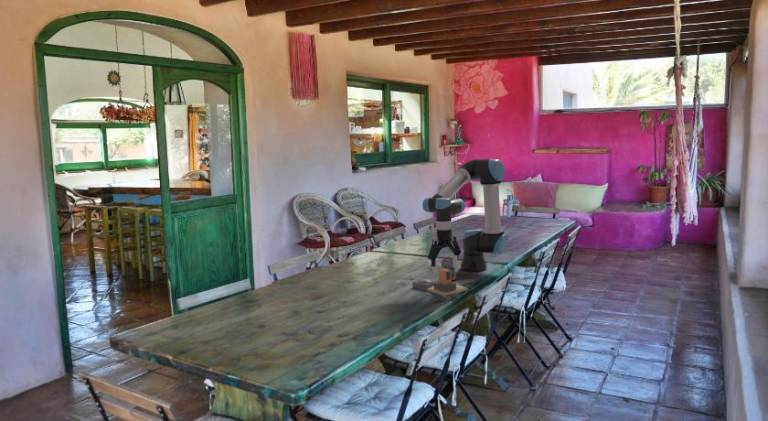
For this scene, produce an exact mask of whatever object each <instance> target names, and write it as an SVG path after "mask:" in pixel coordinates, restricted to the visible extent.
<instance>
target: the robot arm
mask: <svg viewBox="0 0 768 421" xmlns="http://www.w3.org/2000/svg"><path fill="white" fill-rule="evenodd" d="M505 175H506V169H505V165H504V163H503V162H502V161H501V160H500V159H498V158H497V159H495V158H474V159H470V160H469V161H466V162H465V163H463V164H462V165H460V166H459V167H458V168H457V169H456V171H455V173H454V175H453V176H452V177H451V178H449V180H448V181H447V182H446V183H445V184H444V185H443V186H442V187H440V189H439V190H438V191H437V192H436V193H435V194H434V195H432V197H426V198H424V199H423V201H422V204H421V206H422V209H423V211H424V212H426V213H433V214H435V218H436V219H435V222H436V225H435V226H436V237H437V239H432V241H431V247H430V250H429V253H428V256H427V260H430V261H431V262H430V263H431V267H432V273H434V274H438V260H437V258H438V256H439V253H440V252H441V250H442V249H443V248H448V249H449V250H450V251H451V253H452V259H453V267H454V268H455V269H458V266H459V265H458V261H459V256H460V255H461V254H462V253H463V254H462V258H461V263H460V270H461V271H465V272H482V271H485V270H487V263H486V260H485V257H484V256H485V255H484V254H492V255H503V254H504V253H505V252H506V250H507V248H508V246H509V240H510V239H509V236H508V235H507V234H506V233H505V231H504V228H502V223H501V205H500V202H501V201H500V188H499V187H500V185H501V184H502V181H503V180H504V178H505ZM474 180H475V181H476V180H477V181H479V184H480V186H482V190H483V206H484V222H485V223H484V225H485V226H484V227H485V228H484V229H483V228H475V229H468V230H465V231H464V232H463V233H462V250H461V247H460V245H459V243H458V241H457V237H456V236H454V235H453V234H452V216H453V215H457V214H462V213H463V212H464V211H465V209H466V203H465V201H464V200H463V199H461V198H454V199H452V198H453V197H454V195H455V194H457V192H458V191H459V190H460V189H461V188H462V187H463V186H465V184H468V183H469V182H470V181H474Z"/></svg>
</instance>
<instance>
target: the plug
mask: <svg viewBox="0 0 768 421" xmlns="http://www.w3.org/2000/svg"><path fill="white" fill-rule="evenodd" d="M438 281H439V284H442V285H450V284H451V282H452V281H451V270H449V269H445V268H444V269H442V268H441V269H438Z"/></svg>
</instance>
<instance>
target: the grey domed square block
mask: <svg viewBox="0 0 768 421" xmlns="http://www.w3.org/2000/svg"><path fill="white" fill-rule="evenodd" d="M436 282H439V280H436V279H432V278H427V277H424V278H423V277H422V278H421V279H417V280H414V281H412V282H411V283H412V288H415V289H418V290H423V291H427V288H430V287H432V286H434V283H436ZM427 292H428V291H427Z"/></svg>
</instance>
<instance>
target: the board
mask: <svg viewBox="0 0 768 421" xmlns="http://www.w3.org/2000/svg"><path fill="white" fill-rule="evenodd" d="M466 291H469V288H468V287H465V286H462V285H459V284H457V283H455V282H452V281H451V284H450V285H442V284H439V282H436V283H434V286H432V287H430V288H427V292H431V293H433V294H437V295H440V296H442V297H447V296H450V295H454V294H458V293H462V292H466Z"/></svg>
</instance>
